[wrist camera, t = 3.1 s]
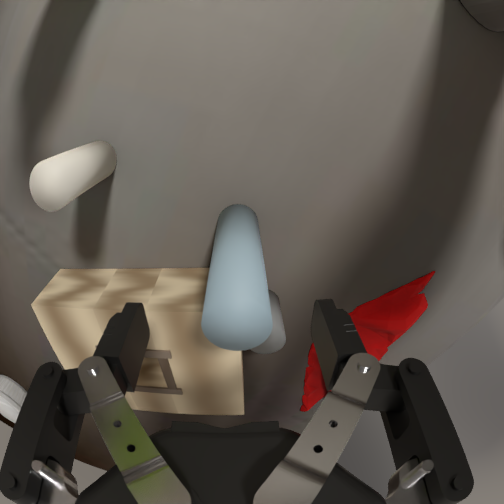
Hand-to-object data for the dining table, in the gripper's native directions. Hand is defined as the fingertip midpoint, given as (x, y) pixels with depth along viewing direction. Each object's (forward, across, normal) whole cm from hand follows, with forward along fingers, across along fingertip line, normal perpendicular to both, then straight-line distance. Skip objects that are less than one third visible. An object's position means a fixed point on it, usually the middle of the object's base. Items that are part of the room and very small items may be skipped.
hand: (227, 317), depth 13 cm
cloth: (+12, -14, +16) cm, 24 cm away
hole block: (+12, +8, +11) cm, 18 cm away
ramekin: (+13, +43, +32) cm, 55 cm away
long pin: (+12, -1, 0) cm, 12 cm away
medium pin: (+12, +10, -6) cm, 17 cm away
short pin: (+12, -3, +8) cm, 14 cm away
